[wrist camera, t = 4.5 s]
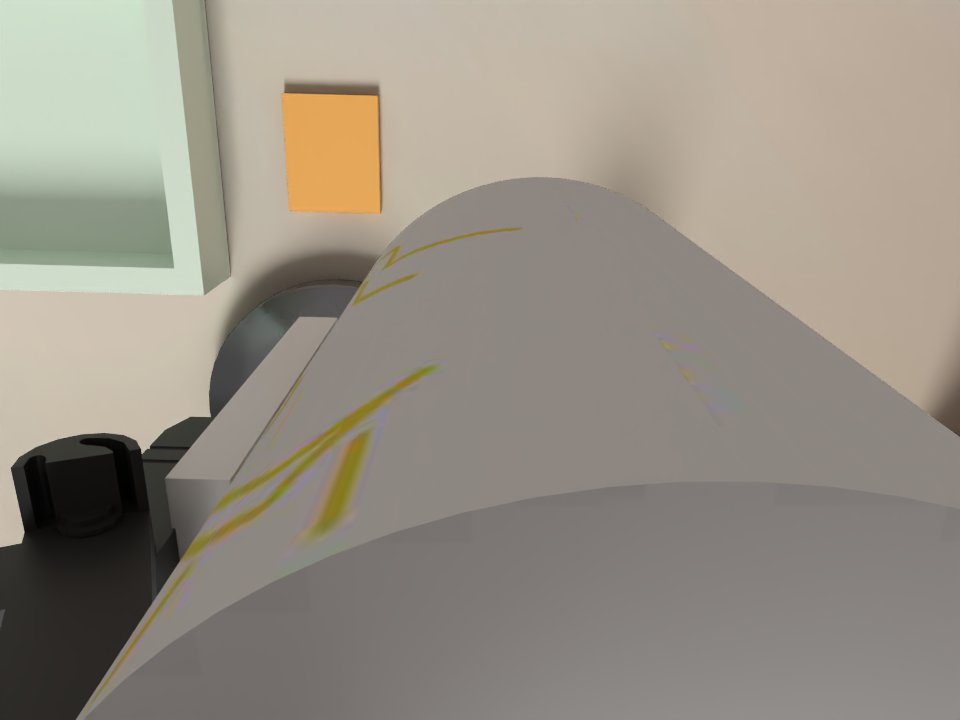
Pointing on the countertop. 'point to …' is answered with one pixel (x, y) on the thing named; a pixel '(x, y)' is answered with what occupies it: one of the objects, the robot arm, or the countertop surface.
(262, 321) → the crank base
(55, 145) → the tray
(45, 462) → the robot arm
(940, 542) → the cup
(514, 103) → the countertop surface
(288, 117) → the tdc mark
